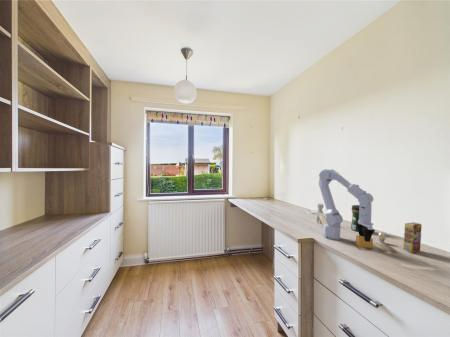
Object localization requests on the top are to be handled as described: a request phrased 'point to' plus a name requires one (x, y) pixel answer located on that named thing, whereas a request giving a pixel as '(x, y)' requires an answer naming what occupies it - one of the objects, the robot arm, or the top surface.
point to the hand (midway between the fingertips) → (364, 239)
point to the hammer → (320, 214)
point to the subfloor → (378, 248)
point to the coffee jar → (355, 217)
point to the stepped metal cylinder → (382, 237)
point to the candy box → (412, 237)
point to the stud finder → (363, 242)
